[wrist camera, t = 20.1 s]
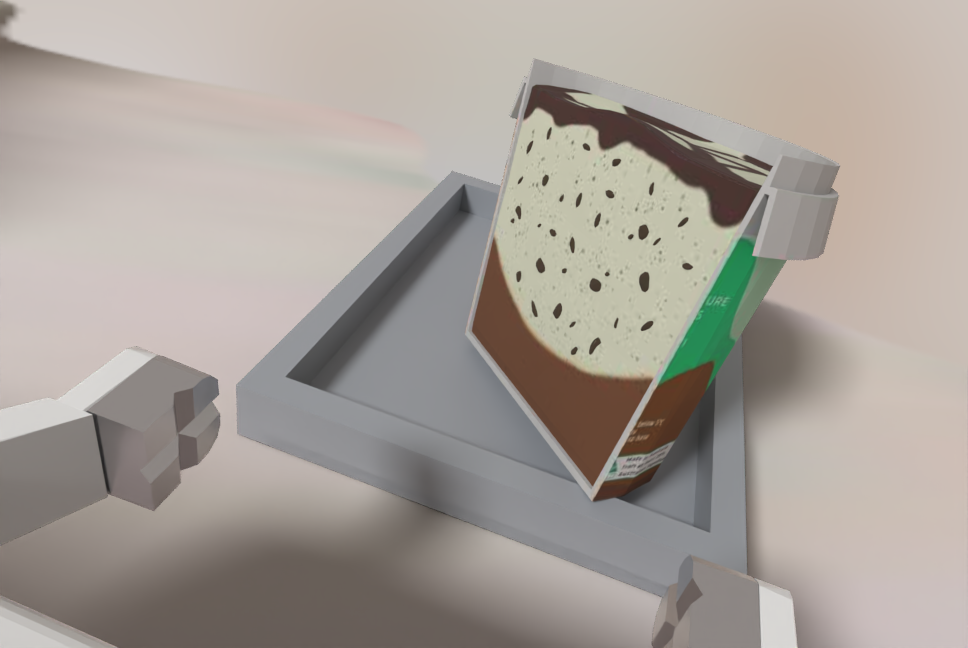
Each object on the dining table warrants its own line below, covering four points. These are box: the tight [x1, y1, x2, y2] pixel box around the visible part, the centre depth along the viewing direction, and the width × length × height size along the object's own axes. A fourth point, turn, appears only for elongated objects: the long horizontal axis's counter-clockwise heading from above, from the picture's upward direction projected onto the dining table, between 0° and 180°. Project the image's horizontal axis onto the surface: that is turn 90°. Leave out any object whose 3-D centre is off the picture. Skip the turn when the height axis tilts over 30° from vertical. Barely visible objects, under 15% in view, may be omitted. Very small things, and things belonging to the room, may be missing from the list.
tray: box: [236, 171, 747, 597], centre depth 27 cm, size 15×19×2 cm
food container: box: [465, 59, 840, 502], centre depth 22 cm, size 12×6×10 cm, turn 22°
